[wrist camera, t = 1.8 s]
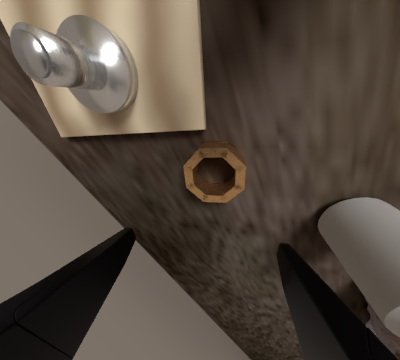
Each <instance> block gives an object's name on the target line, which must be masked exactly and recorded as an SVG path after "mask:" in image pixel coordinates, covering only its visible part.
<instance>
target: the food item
mask: <svg viewBox="0 0 400 360" xmlns="http://www.w3.org/2000/svg"><path fill="white" fill-rule="evenodd" d="M365 299H366V298H365ZM366 301H367V300H366ZM367 303H368V307H367V310H368V312H369V313H370V317H371V325H372V326H373V329H374V331H375V333H376V335H377V337H378V339H379V340H380V341H381V342H382V343H383V344H384V345H385V346H386V347H387V348H388V349H389V350H390V351H391V352H392V353H393V354H394V355H395V356H396V357H397V358H398V359H399V360H400V337H398V336H397V335H395V334H393V333H392V332H391V331H390V330H389V329H387V328H386V327H385V325H384V324H383V322H382V321H381V320H380V318H379V317H378V315H377V314H376V312H375V311H374V310H373V308H372V307H371V305H370V304H369V302H368V301H367Z"/></svg>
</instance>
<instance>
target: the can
mask: <svg viewBox="0 0 400 360" xmlns="http://www.w3.org/2000/svg"><path fill="white" fill-rule="evenodd" d="M318 229H319V232H320V234H321V235H322V237H323V238H324V239H325V241H326V242H327V244H328V245H329V247H330V248H331V250H332V251H333V252H334V254H335V255H336V257H337V258H338V260H339V261H340V262H341V264H342V265H343V267H344V268H345V270H346V271H347V272H348V274H349V275H350V277H351V278H352V280H353V281H354V282H355V284H356V285H357V287H358V288H359V290H360V291H361V292H362V294H363V295H364V297H365V298H366V300H367V301H368V302H369V304H370V305H371V307H372V308H373V310H374V311H375V312H376V314H377V315H378V317H379V318H380V320H381V321H382V322H383V324H384V325H385V327H386V328H387V329H389V330H390V331H391V332H392V333H393V334H395V335H397V336H398V337H400V211H399V210H398V209H396V208H394V207H393V206H391V205H390V204H388V203H386V202H384V201H382V200H379V199H374V198H368V197H365V198H353V199H348V200H344V201H340V202H338V203H336V204H334V205H332V206H330V207H329V208H328V209H327V210H325V212H324V213H323V214H322V216H321V217H320V219H319V220H318Z"/></svg>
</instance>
